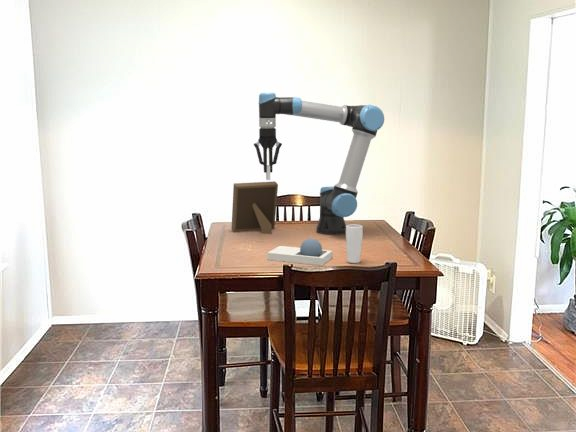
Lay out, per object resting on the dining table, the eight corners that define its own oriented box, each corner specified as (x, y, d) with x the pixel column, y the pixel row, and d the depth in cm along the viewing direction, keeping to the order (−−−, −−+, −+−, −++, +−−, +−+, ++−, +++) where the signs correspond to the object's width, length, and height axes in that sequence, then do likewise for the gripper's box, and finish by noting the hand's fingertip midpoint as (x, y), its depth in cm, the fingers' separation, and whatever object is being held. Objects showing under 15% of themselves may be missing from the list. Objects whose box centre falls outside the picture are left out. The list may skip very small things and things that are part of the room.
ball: (312, 236, 246) (315, 256, 247) (294, 240, 241) (297, 261, 242) (324, 237, 238) (327, 258, 239) (306, 241, 234) (309, 263, 235)
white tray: (267, 259, 242) (267, 252, 241) (279, 252, 254) (279, 245, 253) (322, 265, 233) (322, 258, 232) (332, 257, 244) (332, 250, 244)
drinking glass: (344, 260, 241) (344, 224, 238) (360, 259, 241) (360, 224, 239) (347, 264, 234) (347, 227, 231) (363, 263, 235) (364, 227, 232)
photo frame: (231, 230, 299) (230, 181, 294) (271, 227, 306) (271, 179, 301) (239, 236, 285) (238, 186, 280) (281, 233, 293) (281, 183, 288)
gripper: (254, 128, 258) (255, 181, 263) (283, 127, 261) (283, 180, 266) (251, 127, 266) (252, 179, 270) (279, 127, 268) (280, 178, 273)
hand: (268, 179), depth 268 cm, fingers closed
